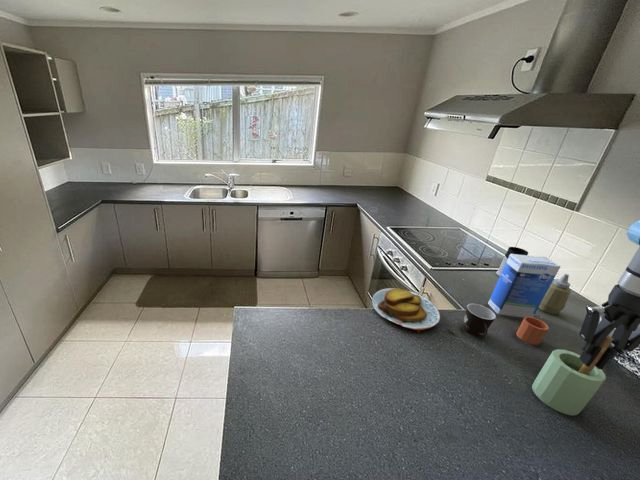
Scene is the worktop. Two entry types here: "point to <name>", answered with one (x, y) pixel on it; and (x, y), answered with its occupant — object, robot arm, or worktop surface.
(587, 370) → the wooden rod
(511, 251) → the holder
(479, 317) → the coffee mug
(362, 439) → the worktop surface
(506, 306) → the string lights box
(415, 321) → the food on plate
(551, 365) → the sage green cup
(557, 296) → the squeeze bottle
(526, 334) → the brush cup
